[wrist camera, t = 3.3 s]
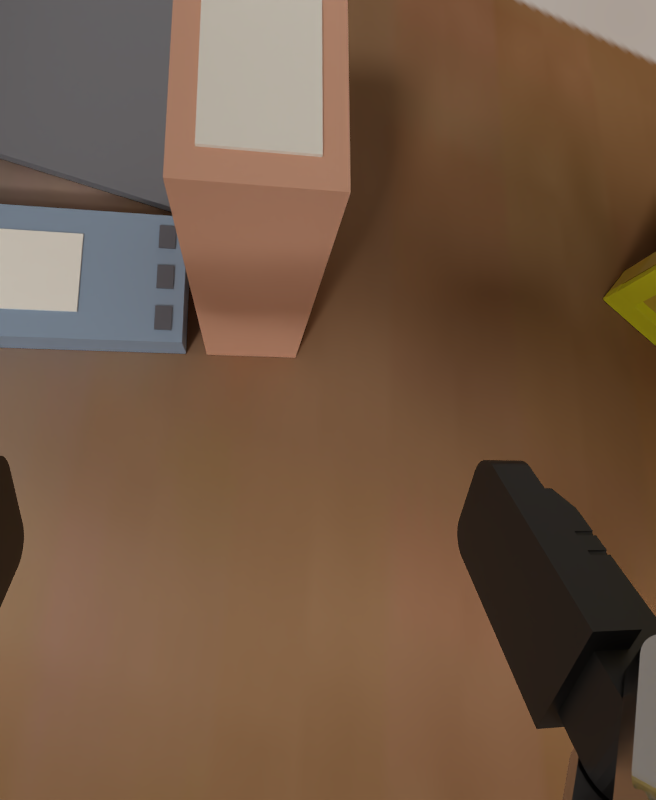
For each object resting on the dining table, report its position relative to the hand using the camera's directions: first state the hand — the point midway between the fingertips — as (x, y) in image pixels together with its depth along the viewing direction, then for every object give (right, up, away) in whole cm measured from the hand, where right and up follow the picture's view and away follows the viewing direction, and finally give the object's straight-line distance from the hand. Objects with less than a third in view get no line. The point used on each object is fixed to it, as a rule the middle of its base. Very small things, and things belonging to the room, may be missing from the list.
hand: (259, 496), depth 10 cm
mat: (-8, +16, +14) cm, 23 cm away
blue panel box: (-10, +6, +12) cm, 17 cm away
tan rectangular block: (-2, +6, +13) cm, 14 cm away
